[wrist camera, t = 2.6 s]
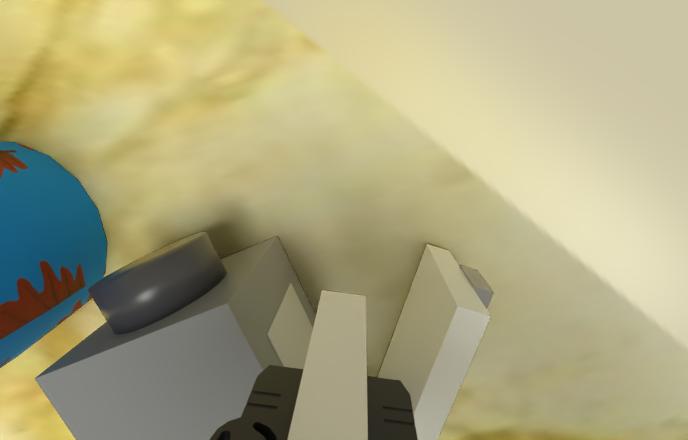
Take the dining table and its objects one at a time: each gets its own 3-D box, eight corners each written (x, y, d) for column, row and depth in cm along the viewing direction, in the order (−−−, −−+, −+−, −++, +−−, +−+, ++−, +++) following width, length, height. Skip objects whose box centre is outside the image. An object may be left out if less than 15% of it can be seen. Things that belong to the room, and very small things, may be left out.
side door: (395, 422, 23) (409, 559, 16) (362, 413, 23) (361, 546, 16) (463, 252, 21) (517, 324, 13) (426, 240, 21) (460, 307, 13)
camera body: (372, 429, 24) (375, 595, 16) (252, 468, 25) (196, 642, 17) (261, 201, 21) (192, 256, 13) (130, 257, 22) (-13, 341, 14)
